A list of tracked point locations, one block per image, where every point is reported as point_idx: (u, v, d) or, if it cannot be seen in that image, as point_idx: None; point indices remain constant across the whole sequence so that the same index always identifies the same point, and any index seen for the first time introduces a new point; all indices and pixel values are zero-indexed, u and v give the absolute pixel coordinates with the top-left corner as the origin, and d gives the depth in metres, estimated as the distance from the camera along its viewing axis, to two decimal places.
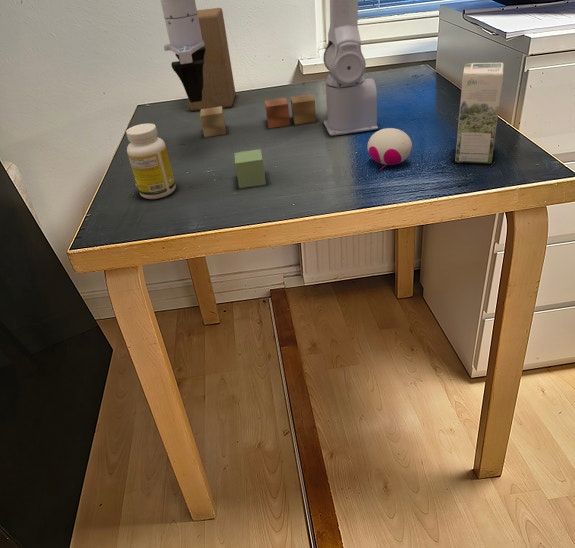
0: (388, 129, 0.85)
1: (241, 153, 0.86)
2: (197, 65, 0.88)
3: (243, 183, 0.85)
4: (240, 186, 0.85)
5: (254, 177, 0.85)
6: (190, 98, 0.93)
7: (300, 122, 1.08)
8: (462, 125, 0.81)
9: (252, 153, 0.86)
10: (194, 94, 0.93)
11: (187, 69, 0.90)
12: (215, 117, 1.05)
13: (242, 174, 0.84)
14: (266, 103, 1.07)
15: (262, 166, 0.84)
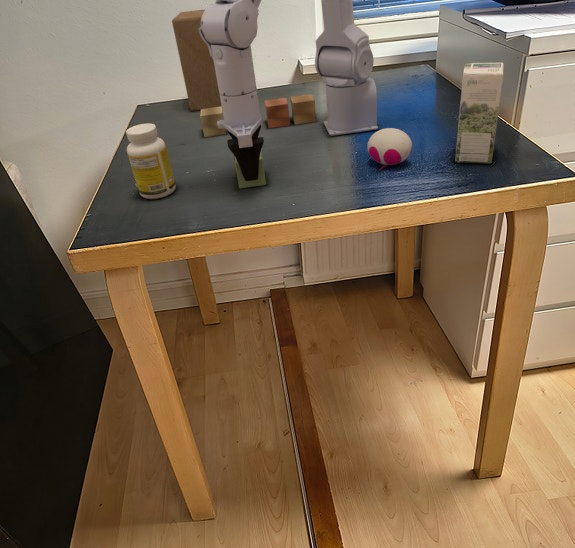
0: (388, 129, 0.85)
1: None
2: (256, 145, 0.79)
3: (243, 183, 0.85)
4: (240, 186, 0.85)
5: None
6: (245, 177, 0.84)
7: (300, 122, 1.08)
8: (462, 125, 0.81)
9: None
10: (250, 173, 0.83)
11: (244, 147, 0.81)
12: (215, 117, 1.05)
13: (242, 174, 0.84)
14: (266, 103, 1.07)
15: (262, 166, 0.84)
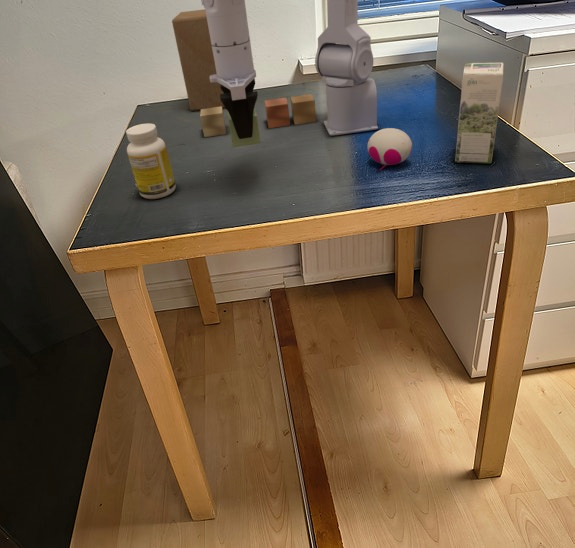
0: (388, 129, 0.85)
1: None
2: (250, 98, 0.76)
3: (237, 141, 0.82)
4: (234, 145, 0.83)
5: None
6: (239, 134, 0.81)
7: (300, 122, 1.08)
8: (462, 125, 0.81)
9: None
10: (244, 130, 0.81)
11: (237, 102, 0.78)
12: (215, 117, 1.05)
13: (235, 131, 0.81)
14: (266, 103, 1.07)
15: (256, 123, 0.81)
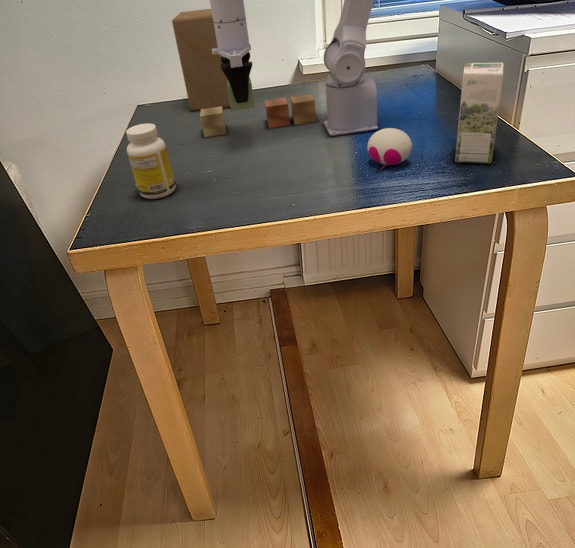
0: (388, 129, 0.85)
1: None
2: (246, 67, 0.91)
3: (234, 106, 0.97)
4: (232, 109, 0.97)
5: None
6: (237, 99, 0.95)
7: (300, 122, 1.08)
8: (462, 125, 0.81)
9: None
10: (241, 95, 0.95)
11: (235, 71, 0.93)
12: (215, 117, 1.05)
13: (233, 97, 0.96)
14: (266, 103, 1.07)
15: (251, 90, 0.95)
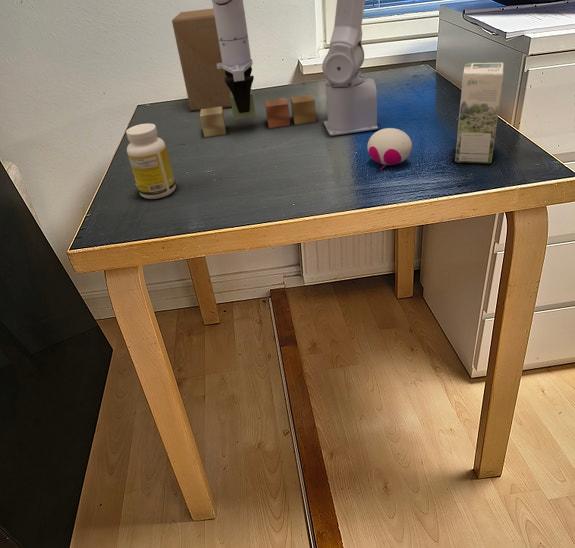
0: (388, 129, 0.85)
1: None
2: (248, 80, 1.00)
3: (237, 115, 1.06)
4: (235, 118, 1.06)
5: None
6: (239, 109, 1.04)
7: (300, 122, 1.08)
8: (462, 125, 0.81)
9: None
10: (243, 106, 1.04)
11: (238, 84, 1.01)
12: (215, 117, 1.05)
13: (236, 107, 1.05)
14: (266, 103, 1.07)
15: (252, 101, 1.04)
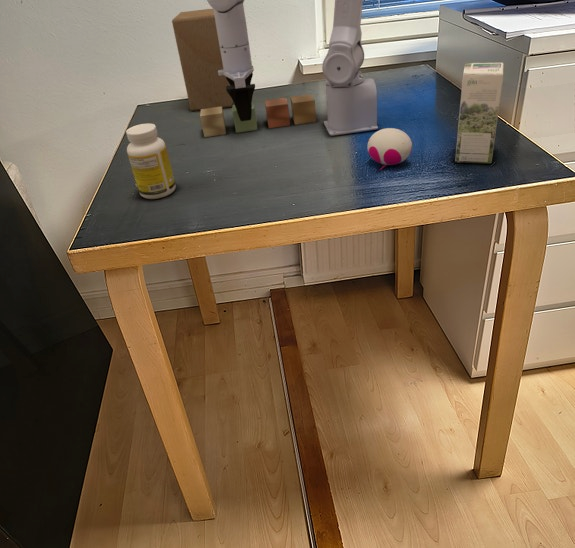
0: (388, 129, 0.85)
1: None
2: (249, 89, 0.99)
3: (239, 128, 1.07)
4: (237, 131, 1.07)
5: (247, 123, 1.07)
6: (241, 117, 1.04)
7: (300, 122, 1.08)
8: (462, 125, 0.81)
9: None
10: (244, 114, 1.04)
11: (239, 92, 1.01)
12: (215, 117, 1.05)
13: (238, 120, 1.06)
14: (266, 103, 1.07)
15: (254, 114, 1.06)
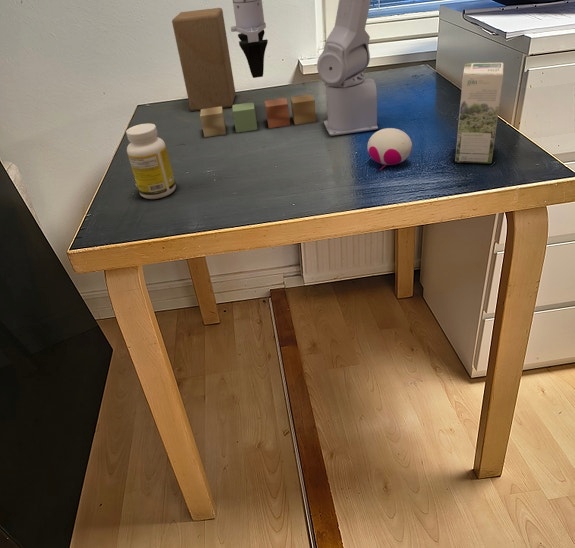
0: (388, 129, 0.85)
1: (238, 105, 1.08)
2: (262, 44, 1.00)
3: (239, 128, 1.07)
4: (237, 131, 1.07)
5: (247, 123, 1.07)
6: (253, 74, 1.05)
7: (300, 122, 1.08)
8: (462, 125, 0.81)
9: (246, 104, 1.08)
10: (256, 70, 1.05)
11: (252, 48, 1.02)
12: (215, 117, 1.05)
13: (238, 120, 1.06)
14: (266, 103, 1.07)
15: (254, 114, 1.06)
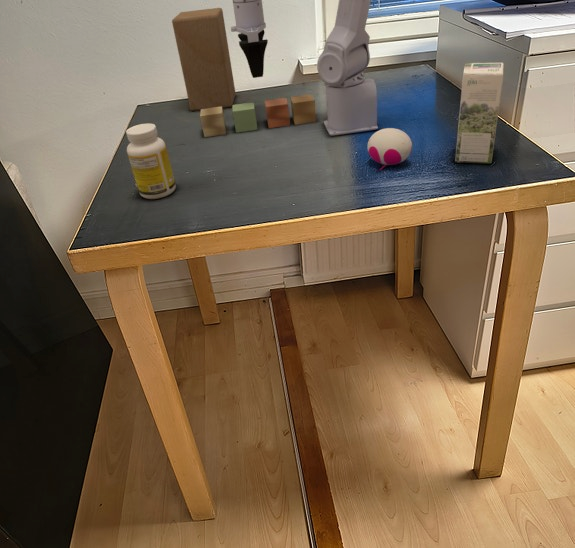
0: (388, 129, 0.85)
1: (238, 105, 1.08)
2: (262, 44, 1.00)
3: (239, 128, 1.07)
4: (237, 131, 1.07)
5: (247, 123, 1.07)
6: (253, 74, 1.05)
7: (300, 122, 1.08)
8: (462, 125, 0.81)
9: (246, 104, 1.08)
10: (256, 70, 1.05)
11: (252, 48, 1.02)
12: (215, 117, 1.05)
13: (238, 120, 1.06)
14: (266, 103, 1.07)
15: (254, 114, 1.06)
